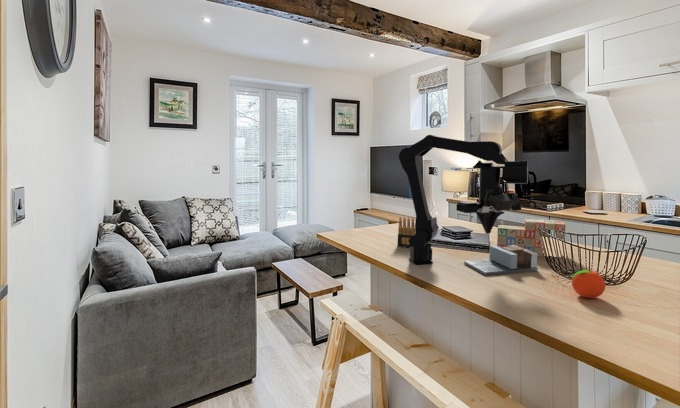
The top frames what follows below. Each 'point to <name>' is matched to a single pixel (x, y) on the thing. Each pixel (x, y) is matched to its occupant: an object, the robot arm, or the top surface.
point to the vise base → (495, 268)
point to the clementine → (588, 283)
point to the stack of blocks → (528, 234)
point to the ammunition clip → (405, 232)
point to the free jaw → (503, 257)
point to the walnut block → (517, 251)
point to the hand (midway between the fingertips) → (487, 233)
